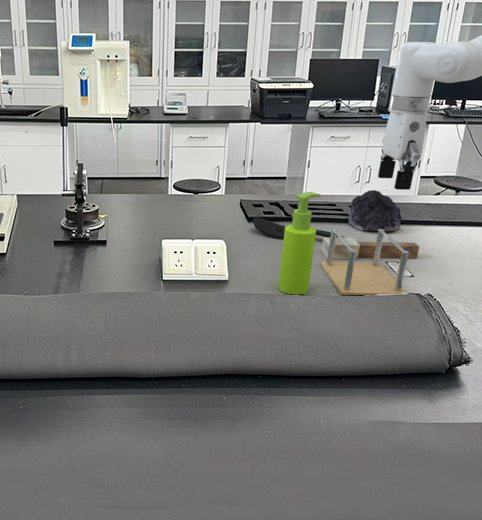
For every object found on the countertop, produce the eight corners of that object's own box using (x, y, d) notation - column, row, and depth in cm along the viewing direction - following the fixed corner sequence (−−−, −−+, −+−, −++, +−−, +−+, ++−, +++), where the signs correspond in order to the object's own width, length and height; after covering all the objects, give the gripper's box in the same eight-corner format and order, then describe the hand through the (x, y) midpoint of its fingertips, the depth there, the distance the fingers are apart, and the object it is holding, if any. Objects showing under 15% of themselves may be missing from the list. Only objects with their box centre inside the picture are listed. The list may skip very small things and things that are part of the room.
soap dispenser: (317, 289, 109) (330, 194, 101) (295, 298, 105) (307, 200, 97) (294, 279, 113) (305, 188, 105) (272, 287, 109) (282, 193, 102)
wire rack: (378, 265, 120) (385, 227, 116) (407, 297, 105) (417, 254, 102) (320, 264, 121) (325, 226, 117) (341, 296, 106) (348, 253, 102)
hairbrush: (350, 239, 127) (249, 219, 138) (347, 253, 129) (247, 232, 139) (355, 229, 134) (258, 210, 144) (352, 243, 135) (256, 223, 146)
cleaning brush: (410, 252, 127) (413, 238, 126) (419, 260, 123) (422, 246, 121) (321, 250, 128) (323, 237, 127) (326, 258, 124) (329, 244, 122)
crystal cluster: (394, 240, 137) (406, 202, 133) (341, 226, 143) (350, 190, 139) (400, 229, 148) (411, 194, 144) (350, 217, 154) (359, 183, 150)
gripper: (446, 110, 105) (427, 194, 111) (409, 100, 121) (395, 174, 127) (407, 109, 105) (391, 193, 112) (376, 99, 121) (363, 173, 128)
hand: (393, 183), depth 119 cm, fingers open, 9 cm apart
